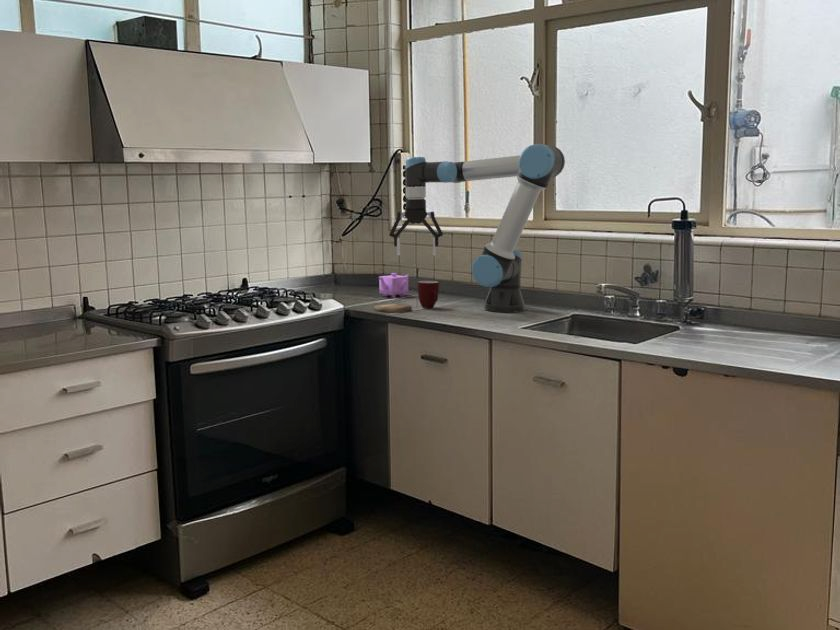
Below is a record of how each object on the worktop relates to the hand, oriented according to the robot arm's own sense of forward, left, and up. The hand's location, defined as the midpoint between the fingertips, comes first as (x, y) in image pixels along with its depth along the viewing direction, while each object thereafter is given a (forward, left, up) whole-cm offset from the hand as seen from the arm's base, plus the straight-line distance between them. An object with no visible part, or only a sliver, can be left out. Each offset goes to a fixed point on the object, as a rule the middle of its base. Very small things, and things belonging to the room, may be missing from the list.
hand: (416, 255), depth 327 cm
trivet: (+6, +9, -20) cm, 23 cm away
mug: (-5, -1, -20) cm, 21 cm away
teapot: (+20, -26, -20) cm, 39 cm away
